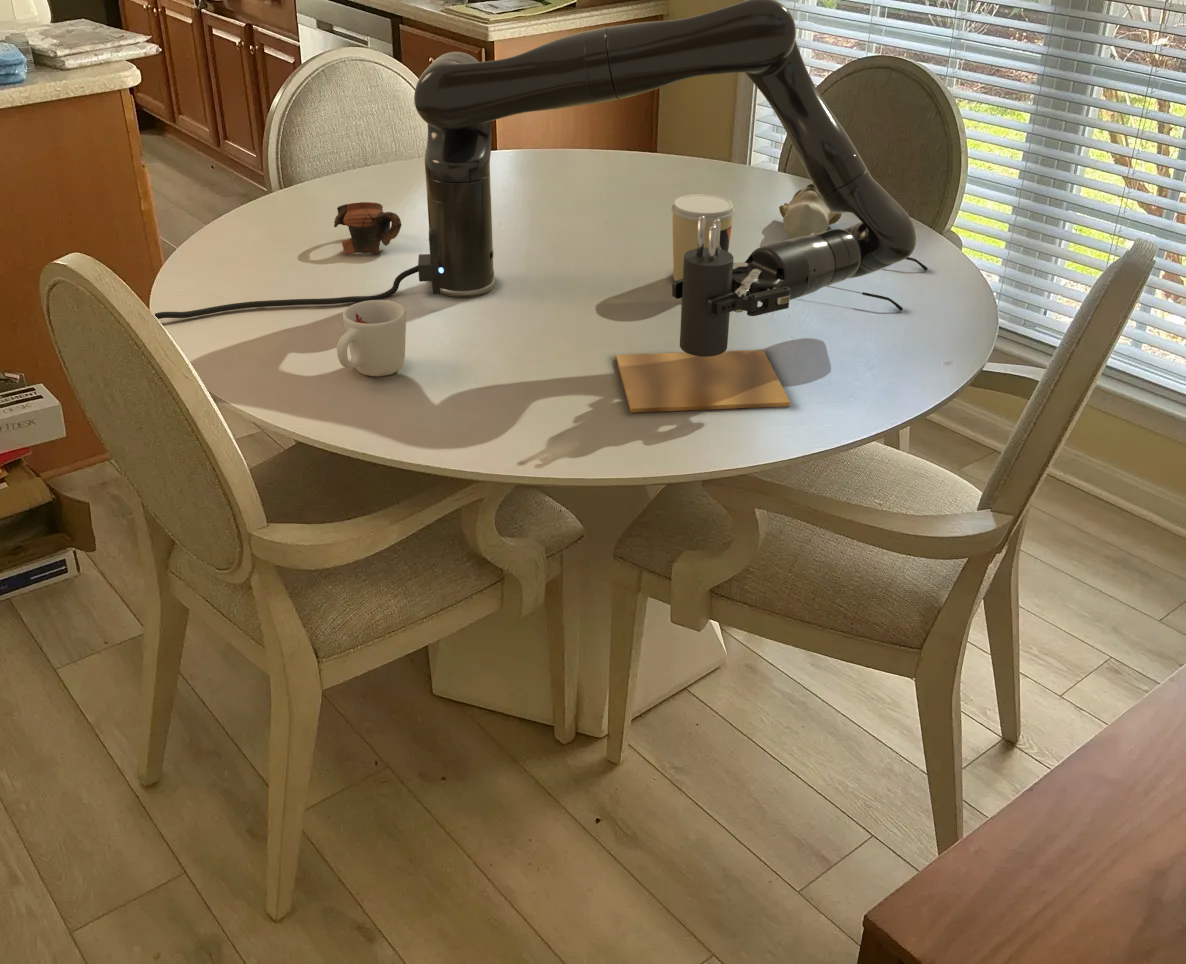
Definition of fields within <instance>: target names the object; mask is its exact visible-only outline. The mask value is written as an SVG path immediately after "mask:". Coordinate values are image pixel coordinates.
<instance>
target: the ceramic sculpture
mask: <svg viewBox="0 0 1186 964" xmlns="http://www.w3.org/2000/svg"><path fill="white" fill-rule="evenodd" d="M778 209H779V213H780V215H781V217H782V218H783V220H782V223H783V229H784V231H785V233H786V235H787V236H788V237H789V239H791V238H795V237H801V236H809V235H810V234H812V233H815V234H816V233H820V232H823V231H827V230H828V228H829V226H831V225H834V224H836V223H837V222H838V221H839V220H840V219H841V217H842V214H843V213H833V212H831V211H830V210H829V209H828V208H827V206H826V205H825V203H824V202H823V200H822V197H821V196H820V195H819V193H818V191H817V190H816V188H815V186H814V184H813V183H811V184H807V186H806V187H803V188H800V189H799V190H798V191H796V192H795V194H794V195H793V197H792V198H791V200H790V201H789V203H787V202H784V204H782V205H779V206H778Z"/></svg>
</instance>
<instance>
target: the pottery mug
mask: <svg viewBox="0 0 1186 964" xmlns="http://www.w3.org/2000/svg"><path fill="white" fill-rule="evenodd" d="M383 208H384V206H383V204H381V203H378V202H371V201H360V202H351V203H345V204H341V205H339V206H337V208H336V210H337V215H336V216H335V218H334V221H333V223H334V225H333V227H334V228H337V227H338V226H339V225H342V226H346V227H348V231H349V234H350V238H347V239H345V240H344V239H343V240H342V241H341V245H342V249H343V252H344V255H353V254H360V253H361V254H379V253H380V247H381V242H382V245H384V246H386V247H387V246H388V245H389V244H390V243H391V241H392V240H395V238H396V237H397V236H398V235H399V234H400V231H401V229H402V221H401V218H400V216H399V215H398V214H397V213H396V212H393V211H385V212H384V210H383Z"/></svg>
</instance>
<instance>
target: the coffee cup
mask: <svg viewBox="0 0 1186 964" xmlns="http://www.w3.org/2000/svg"><path fill="white" fill-rule="evenodd" d="M735 210H736V209H735V207H734V204H733V202H732V201H731V200H730V199H728V198H726V197H723V196H720V195H715V194H714V195H713V194H707V193H695V194H692V193H691V194H686V195H682V196H679V197H677V198H676V199H675V200H674V201H673V204H671V213H672V266H673V267H672V270H673V271H672V272H673V280H674V281H676V280H680V279H683V264H684V254H685V253H686V252H687V251H689V250H692V249H697V231H698V218H699V217H700V216H704V217H705V218H706V223H705V241H704V248H708V242H709V228H710V227H711V226H713V221H714V220H715V219H719V220H720V221H721V228H720V244H719V249H722V250H725V251H727V252H729V248H730V241H731V235H732V227H733V219H734V215H735V212H736V211H735Z"/></svg>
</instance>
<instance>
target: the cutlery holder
mask: <svg viewBox="0 0 1186 964" xmlns="http://www.w3.org/2000/svg"><path fill="white" fill-rule="evenodd" d="M705 223H706V218H705V217H704V216H700V217H699V218H698V231H697V249H692V250H689V251H687V252H686V253H685V254H684V264H683V285H682V298H681V307H680V309H681V310H680V328H679V329H680V330H679V348H680V349H681V351H683V353H688V354H691V355H695V356H702V357H709V356H716V355H719V354H722V353H723V352H725V351H727V349H728V342H729V328H730V326H729V325H730V315H731V312H728V313H724V314H722V315H718V316H715V317H711V316H709V315H707V302H708V300H709V299H710V298H713V297H716V296H720V295H723V294H726V293H729V292H731V287H732V273H733V263H734V259H735V258H734V255H733V254H732V253H731V252H730V251H728V252H727V251H725V250H722V249H719V244H720V228H721V221H720V220H719V219H715V220H714V221H713V226H711V227H710V228H709V242H708V248H704V241H705Z"/></svg>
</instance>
